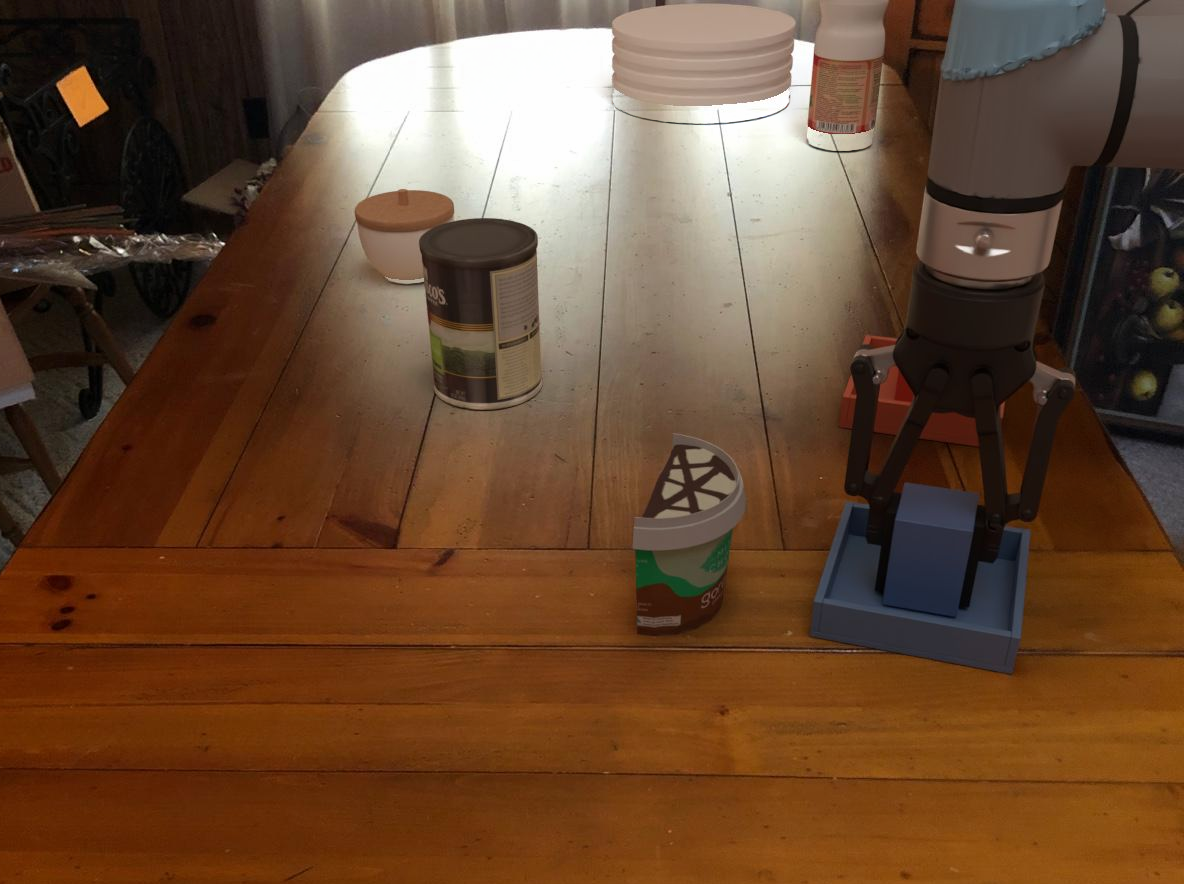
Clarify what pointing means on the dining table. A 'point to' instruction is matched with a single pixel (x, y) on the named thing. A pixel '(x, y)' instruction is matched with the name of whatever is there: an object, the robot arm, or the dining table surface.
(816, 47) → the fruit juice
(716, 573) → the food container
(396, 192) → the trinket box
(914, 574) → the blue block
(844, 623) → the blue tray
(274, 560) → the dining table surface
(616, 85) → the plate stack
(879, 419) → the red tray
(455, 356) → the coffee can
